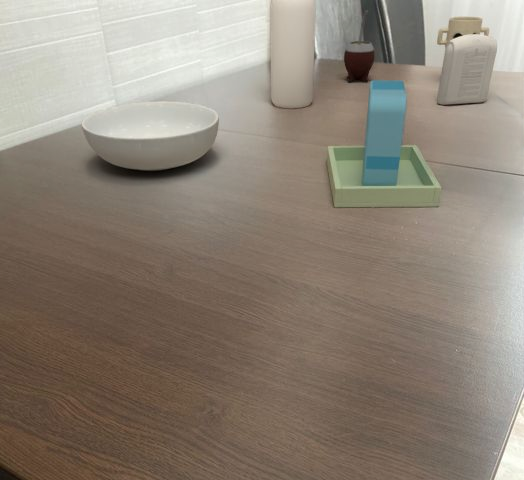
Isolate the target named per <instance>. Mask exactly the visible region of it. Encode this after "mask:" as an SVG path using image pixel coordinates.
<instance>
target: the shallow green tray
mask: <svg viewBox="0 0 524 480" xmlns="http://www.w3.org/2000/svg"><path fill="white" fill-rule="evenodd" d="M326 147H327V148H326V149H327V150H326V166H327V173H328V178H329V185H330V189H331V196H332V201H333V202H332V203H333V207H334V208H437V207H439V204H440V201H441V200H440V199H441V194H442V186H441V184H440V182H439V181H438V179H437V177H436V176H435V174H434V172H433V171H432V169H431V167H430V166H429V164H428V162H427V160H426V159H425V157H424V156H423V154H422V152H421V150H420V149H419V147H418V146H417V144H402V146H401V153H400V161H399V169H398V177H397V185H396V186H362V175H363V158H364V147H365V145H327V146H326Z"/></svg>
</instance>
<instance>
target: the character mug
mask: <svg viewBox="0 0 524 480" xmlns="http://www.w3.org/2000/svg"><path fill="white" fill-rule="evenodd" d="M482 25H483V18H482V17H479V16H453V17H449V20H448V25H447V27H440V28H439V29H438V32H437V33H438V34H437V40H436V44H437V45H438V46H444V50H445V49H446V46H447V43H448V42H449V41H450V40H452V39H455V38H457V37H460V36H464V35H469V34H480V35H481V33H483V35H485V36H490V35H489V34H490V27H487V26H482ZM444 34H446V38H445V39H443V35H444Z"/></svg>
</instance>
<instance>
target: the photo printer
mask: <svg viewBox="0 0 524 480" xmlns="http://www.w3.org/2000/svg"><path fill="white" fill-rule="evenodd" d="M497 51H498V41H497V38H494V37H491V36H490V35H488V36H485V35H484V34H481V33H480V34H469V35H464V36H460V37H457V38H455V39H452V40H450V41H449V42H448V43H447V46H446V49H445V48H444V55H443V60H442V67H441V72H440V77H439V78H440V79H439V84H438V90H437V97H436V98H437V99H436V101H437V103H438V104H439V105H442V106H445V105H446V106H447V105H460V104H463V105H464V104H475V103H485V102H486V100H487V98H488V93H489V90H490V89H489V88H490V85H491V80H492V75H493V70H494V66H495V61H496V56H497Z"/></svg>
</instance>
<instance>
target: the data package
mask: <svg viewBox="0 0 524 480" xmlns="http://www.w3.org/2000/svg"><path fill="white" fill-rule="evenodd" d="M407 98H408V97H407V94H406V87H405V81H403V80H370V82H369V91H368V100H367V102H368V103H367V114H366V124H365V135H364V137H365V138H364V146H365V147H364V158H363V175H362V186H396V185H397V177H398V169H399V161H400V153H401V146H402V145H403V137H404V129H405V122H406V114H407V113H406V112H407V104H408V103H407Z"/></svg>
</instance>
